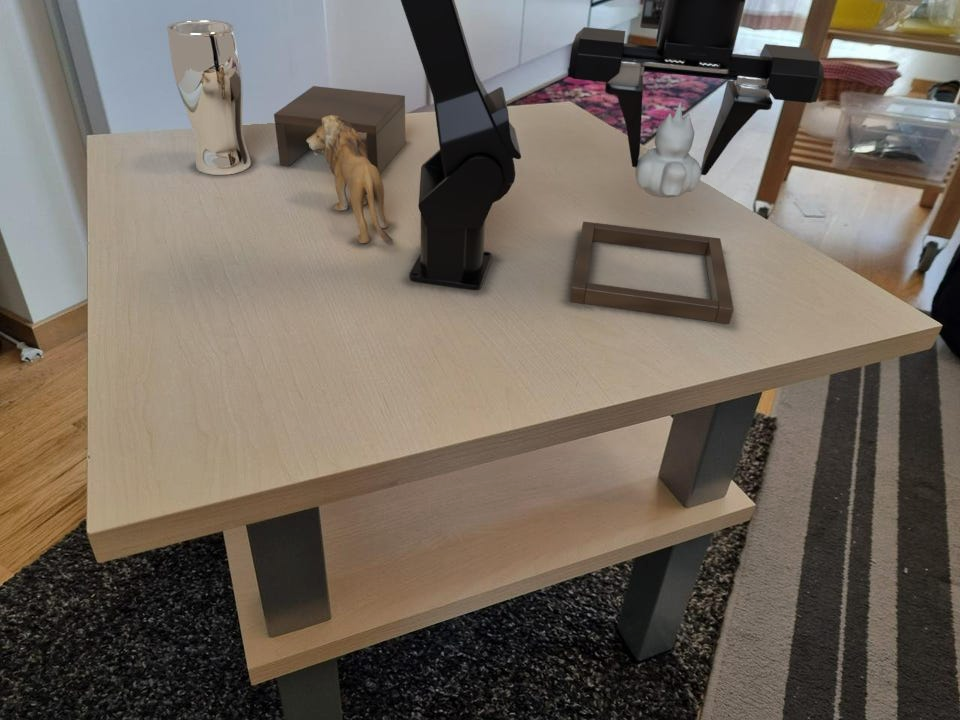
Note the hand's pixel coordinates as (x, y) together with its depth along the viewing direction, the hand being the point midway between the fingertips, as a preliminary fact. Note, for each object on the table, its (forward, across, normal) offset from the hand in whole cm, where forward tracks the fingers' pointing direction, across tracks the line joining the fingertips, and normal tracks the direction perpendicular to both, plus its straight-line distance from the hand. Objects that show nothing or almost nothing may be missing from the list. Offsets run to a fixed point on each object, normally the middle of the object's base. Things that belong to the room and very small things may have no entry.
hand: (668, 169), depth 61 cm
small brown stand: (+10, +37, -21) cm, 44 cm away
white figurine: (+3, 0, 0) cm, 3 cm away
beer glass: (+10, +49, -13) cm, 52 cm away
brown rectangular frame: (+10, 0, 0) cm, 10 cm away
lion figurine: (+10, +30, -4) cm, 32 cm away
